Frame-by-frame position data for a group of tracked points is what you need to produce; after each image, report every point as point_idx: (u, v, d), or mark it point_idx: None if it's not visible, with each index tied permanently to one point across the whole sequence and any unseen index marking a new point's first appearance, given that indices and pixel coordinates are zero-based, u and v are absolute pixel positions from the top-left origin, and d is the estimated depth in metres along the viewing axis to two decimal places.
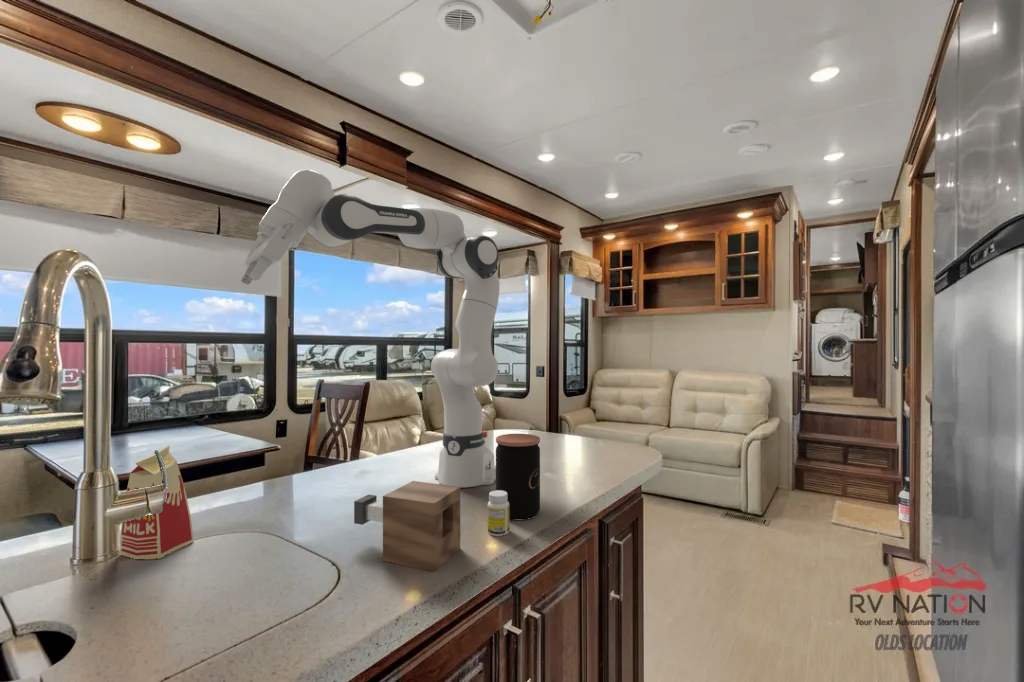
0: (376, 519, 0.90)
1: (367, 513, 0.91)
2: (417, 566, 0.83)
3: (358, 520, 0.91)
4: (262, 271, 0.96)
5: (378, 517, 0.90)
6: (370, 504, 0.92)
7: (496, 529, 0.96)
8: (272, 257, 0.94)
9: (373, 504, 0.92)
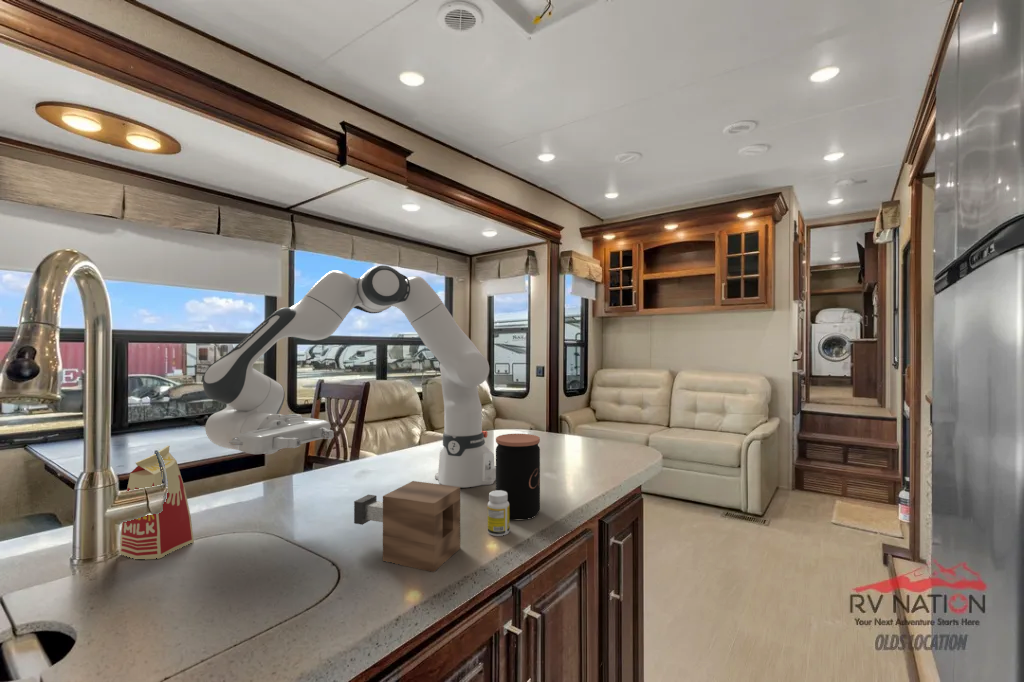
0: (376, 519, 0.90)
1: (367, 513, 0.91)
2: (417, 566, 0.83)
3: (358, 520, 0.91)
4: (286, 440, 0.93)
5: (378, 517, 0.90)
6: (370, 504, 0.92)
7: (496, 529, 0.96)
8: (259, 444, 0.91)
9: (373, 504, 0.92)
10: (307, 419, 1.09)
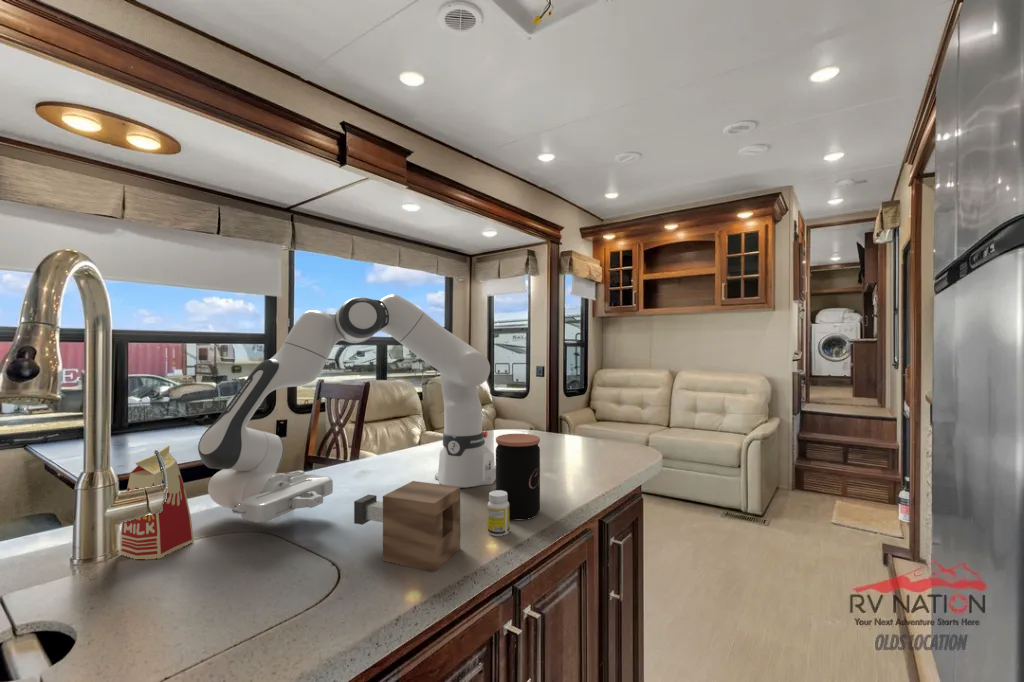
0: (376, 519, 0.90)
1: (367, 513, 0.91)
2: (417, 566, 0.83)
3: (358, 520, 0.91)
4: (304, 500, 0.97)
5: (378, 517, 0.90)
6: (370, 504, 0.92)
7: (496, 529, 0.96)
8: (262, 512, 0.91)
9: (373, 504, 0.92)
10: (310, 476, 1.09)
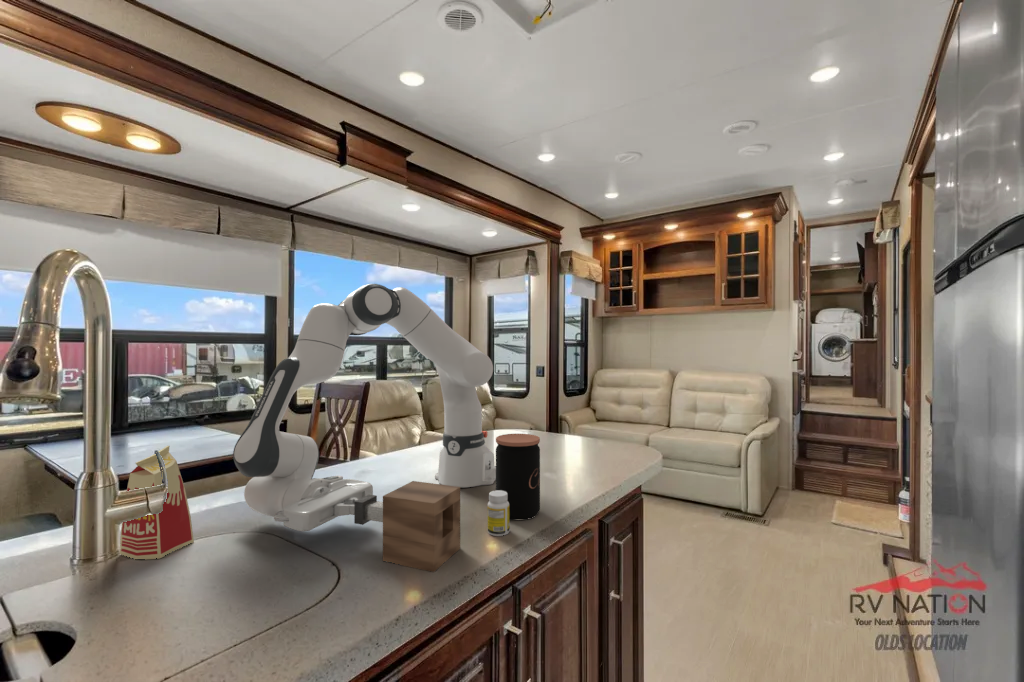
0: (376, 519, 0.90)
1: (367, 513, 0.91)
2: (417, 566, 0.83)
3: (359, 520, 0.91)
4: (347, 507, 0.93)
5: (378, 517, 0.90)
6: (371, 504, 0.92)
7: (496, 529, 0.96)
8: (307, 521, 0.86)
9: (373, 504, 0.92)
10: (349, 481, 1.05)
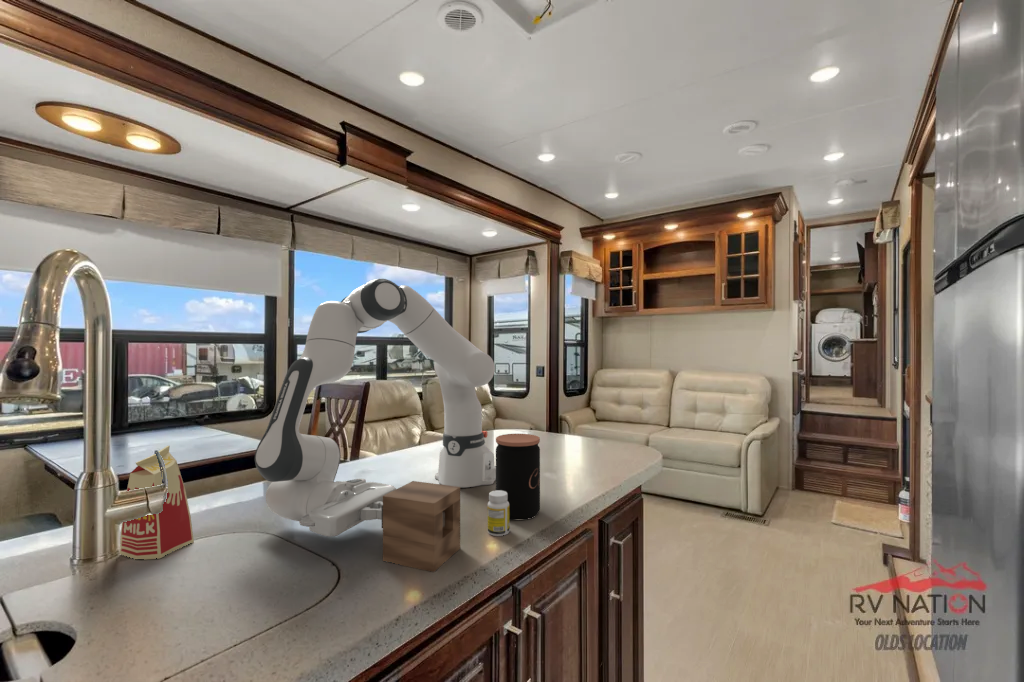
0: None
1: None
2: (417, 566, 0.83)
3: None
4: (374, 511, 0.90)
5: None
6: None
7: (496, 529, 0.96)
8: (334, 525, 0.84)
9: None
10: (372, 484, 1.02)
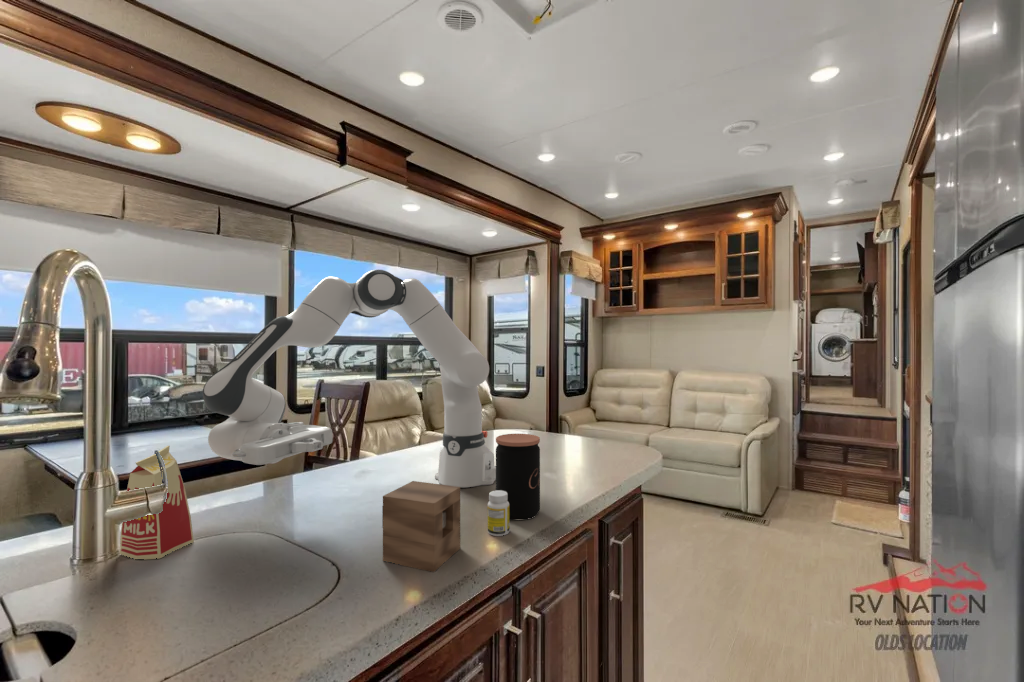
0: None
1: None
2: (417, 566, 0.83)
3: None
4: (303, 445, 0.97)
5: None
6: None
7: (496, 529, 0.96)
8: (262, 454, 0.91)
9: None
10: (309, 426, 1.09)
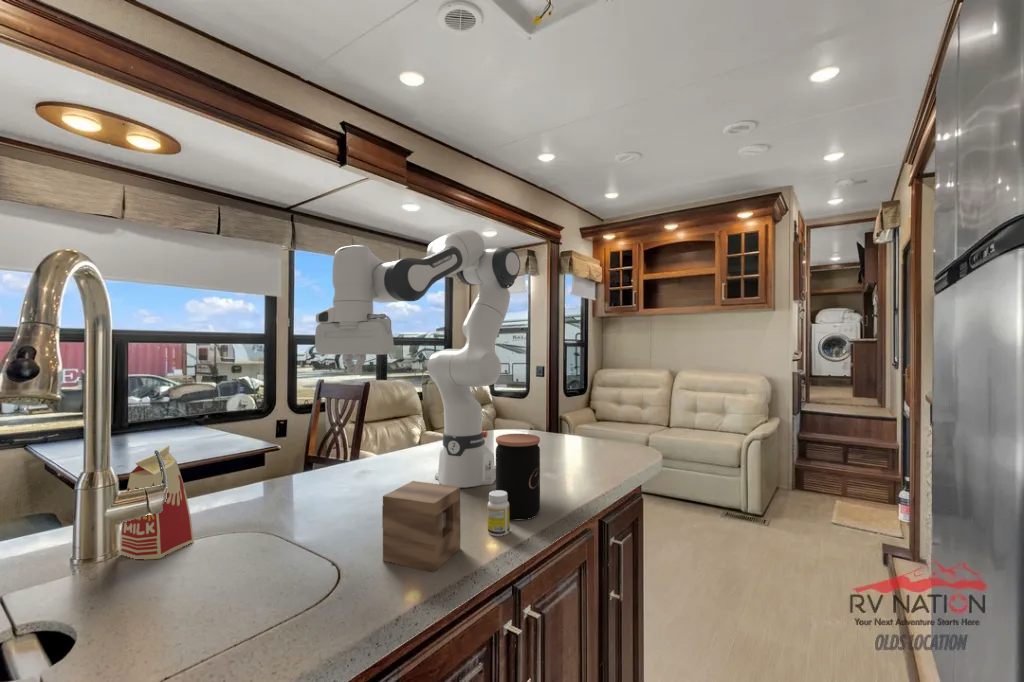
0: None
1: None
2: (417, 566, 0.83)
3: None
4: (362, 365, 1.06)
5: None
6: None
7: (496, 529, 0.96)
8: (388, 353, 1.03)
9: None
10: None
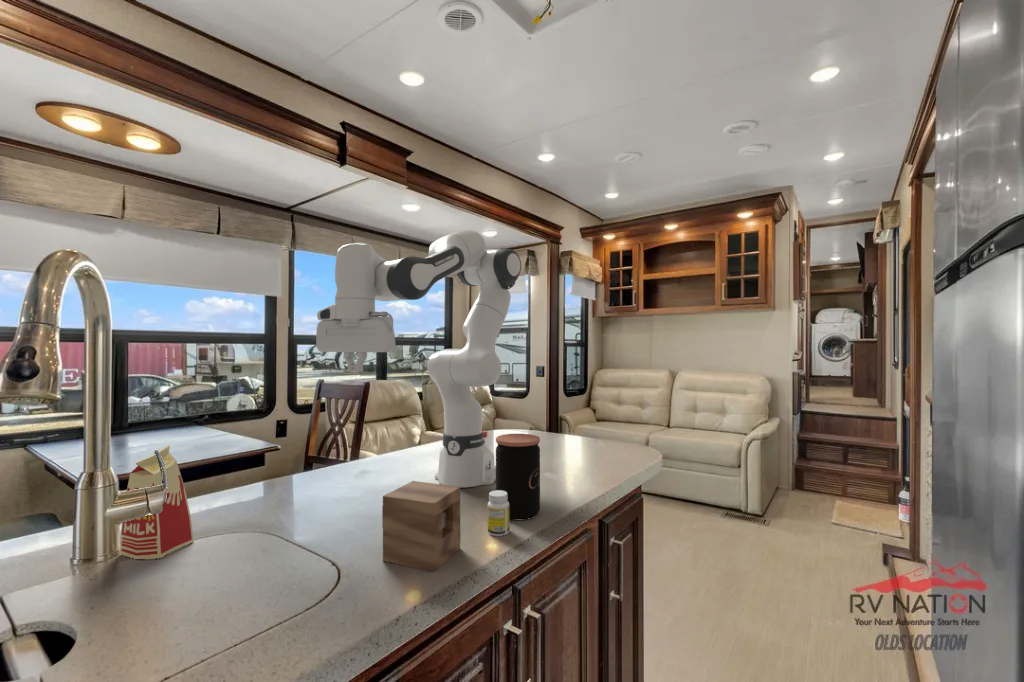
0: None
1: None
2: (417, 566, 0.83)
3: None
4: (363, 362, 1.06)
5: None
6: None
7: (496, 529, 0.96)
8: (390, 351, 1.03)
9: None
10: None
